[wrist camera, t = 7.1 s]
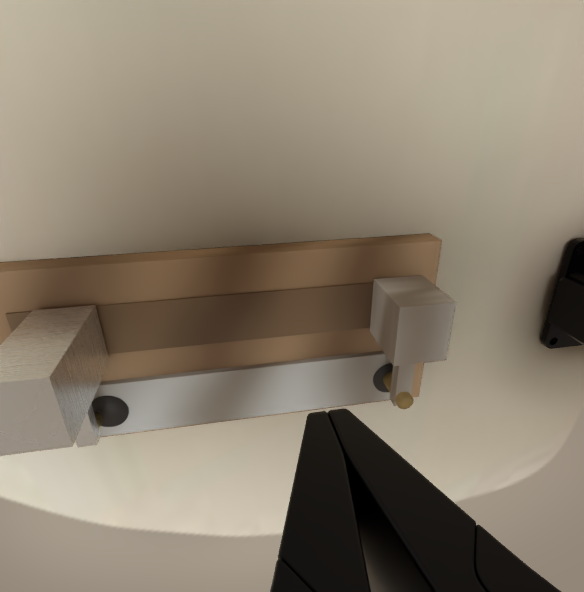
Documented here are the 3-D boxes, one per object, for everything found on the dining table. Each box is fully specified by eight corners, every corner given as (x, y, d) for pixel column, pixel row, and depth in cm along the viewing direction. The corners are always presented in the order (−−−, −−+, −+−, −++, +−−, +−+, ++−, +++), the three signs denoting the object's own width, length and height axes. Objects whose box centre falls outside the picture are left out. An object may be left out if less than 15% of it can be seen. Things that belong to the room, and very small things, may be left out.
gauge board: (429, 233, 19) (481, 264, 16) (409, 383, 23) (447, 437, 19) (-20, 263, 17) (-92, 310, 13) (41, 428, 20) (0, 501, 17)
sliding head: (95, 305, 16) (49, 377, 12) (123, 417, 19) (94, 511, 15) (32, 310, 16) (-39, 386, 12) (70, 423, 19) (24, 522, 14)
